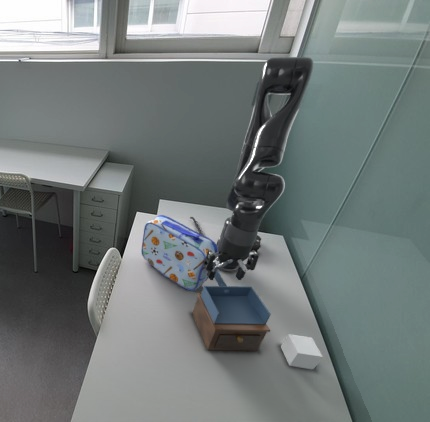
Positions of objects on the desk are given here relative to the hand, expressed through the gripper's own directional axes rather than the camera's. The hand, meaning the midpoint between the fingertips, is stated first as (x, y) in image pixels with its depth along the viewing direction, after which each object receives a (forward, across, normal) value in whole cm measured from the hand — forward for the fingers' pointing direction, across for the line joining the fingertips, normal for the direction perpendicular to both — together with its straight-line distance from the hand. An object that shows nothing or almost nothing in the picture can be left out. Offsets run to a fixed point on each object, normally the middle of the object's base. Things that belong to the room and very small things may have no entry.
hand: (224, 278), depth 95 cm
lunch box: (+15, +8, -18) cm, 25 cm away
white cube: (+15, -17, +17) cm, 28 cm away
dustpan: (+5, 0, +3) cm, 6 cm away
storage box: (+15, 0, +8) cm, 17 cm away
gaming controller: (+15, -28, -35) cm, 47 cm away
